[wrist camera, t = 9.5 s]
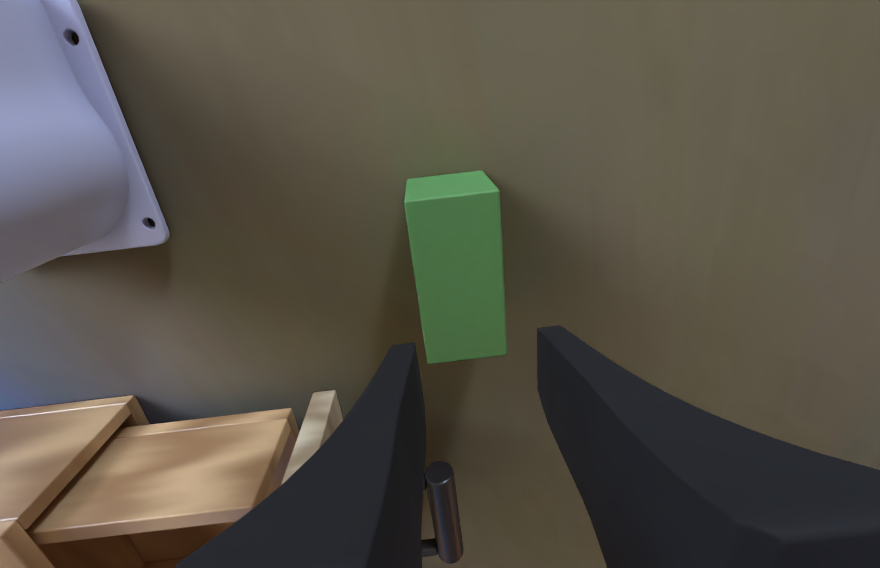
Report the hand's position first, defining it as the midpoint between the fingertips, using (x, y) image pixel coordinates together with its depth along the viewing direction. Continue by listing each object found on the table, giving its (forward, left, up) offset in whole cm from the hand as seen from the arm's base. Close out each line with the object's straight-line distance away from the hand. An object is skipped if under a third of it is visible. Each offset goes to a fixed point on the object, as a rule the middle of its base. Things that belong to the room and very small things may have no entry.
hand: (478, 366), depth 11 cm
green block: (0, 0, -9) cm, 9 cm away
